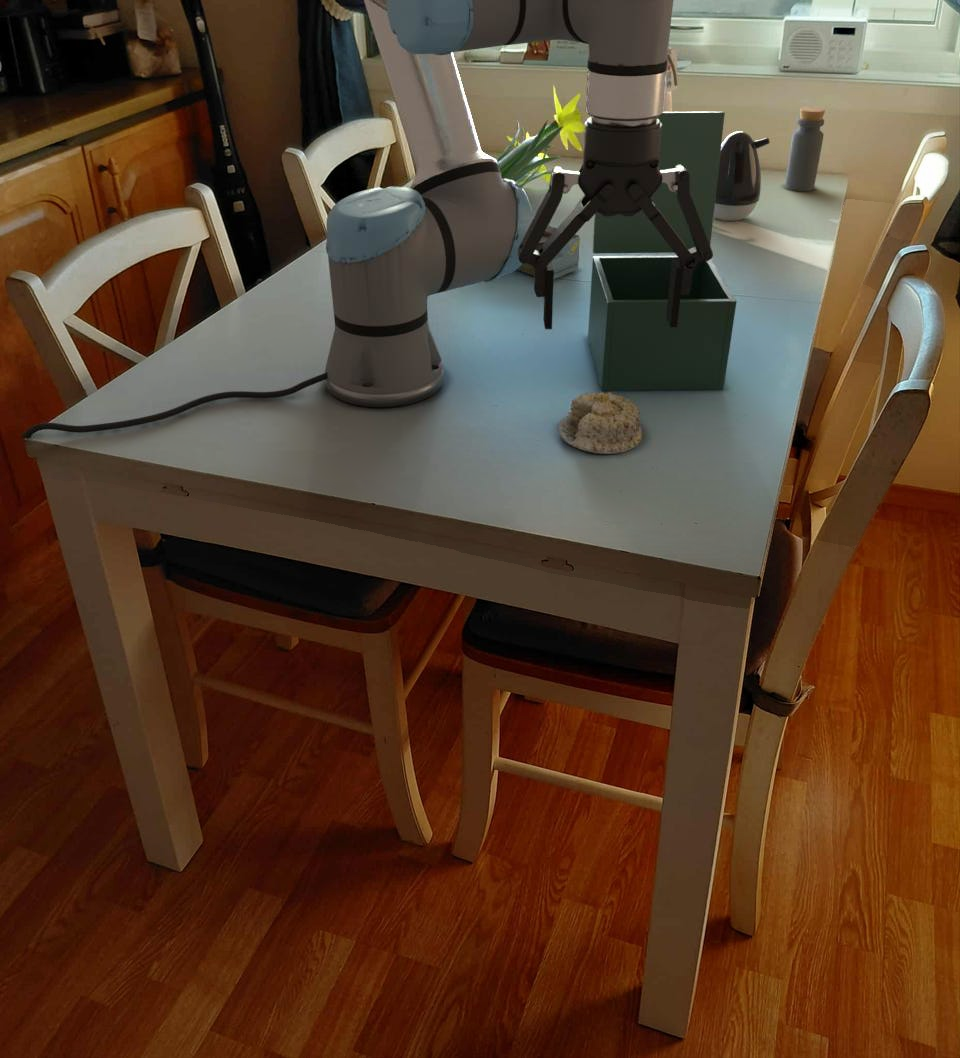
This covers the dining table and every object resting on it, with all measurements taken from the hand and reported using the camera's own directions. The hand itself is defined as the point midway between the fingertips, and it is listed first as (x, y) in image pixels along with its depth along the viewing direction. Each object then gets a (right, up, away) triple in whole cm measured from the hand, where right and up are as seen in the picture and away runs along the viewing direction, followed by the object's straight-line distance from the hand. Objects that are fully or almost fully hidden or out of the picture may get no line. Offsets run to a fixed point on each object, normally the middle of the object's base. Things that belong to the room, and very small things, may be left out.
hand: (609, 323), depth 107 cm
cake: (0, -11, +8) cm, 14 cm away
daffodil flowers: (-6, +43, +88) cm, 98 cm away
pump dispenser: (+33, +36, +77) cm, 91 cm away
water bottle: (+20, +50, +97) cm, 111 cm away
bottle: (+51, +47, +93) cm, 116 cm away
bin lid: (+9, +22, +19) cm, 31 cm away
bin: (+9, 0, +24) cm, 26 cm away
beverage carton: (-7, +22, +57) cm, 61 cm away
